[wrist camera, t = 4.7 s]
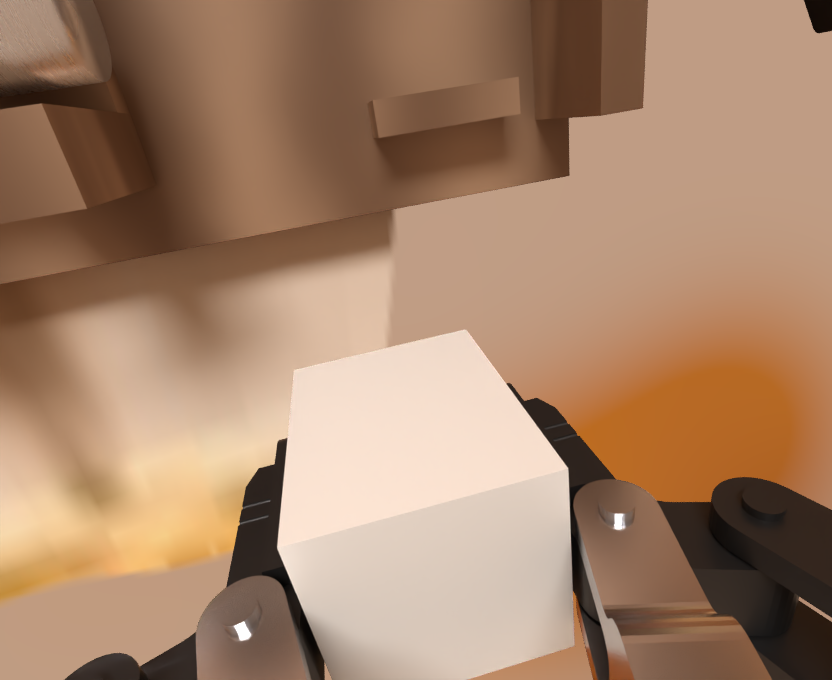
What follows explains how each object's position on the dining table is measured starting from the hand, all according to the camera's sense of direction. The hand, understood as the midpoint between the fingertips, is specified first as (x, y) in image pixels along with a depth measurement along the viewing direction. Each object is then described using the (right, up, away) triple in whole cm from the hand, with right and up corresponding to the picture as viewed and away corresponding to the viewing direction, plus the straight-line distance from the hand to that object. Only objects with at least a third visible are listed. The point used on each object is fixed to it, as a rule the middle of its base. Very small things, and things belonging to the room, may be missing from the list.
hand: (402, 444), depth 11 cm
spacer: (0, 0, +1) cm, 1 cm away
